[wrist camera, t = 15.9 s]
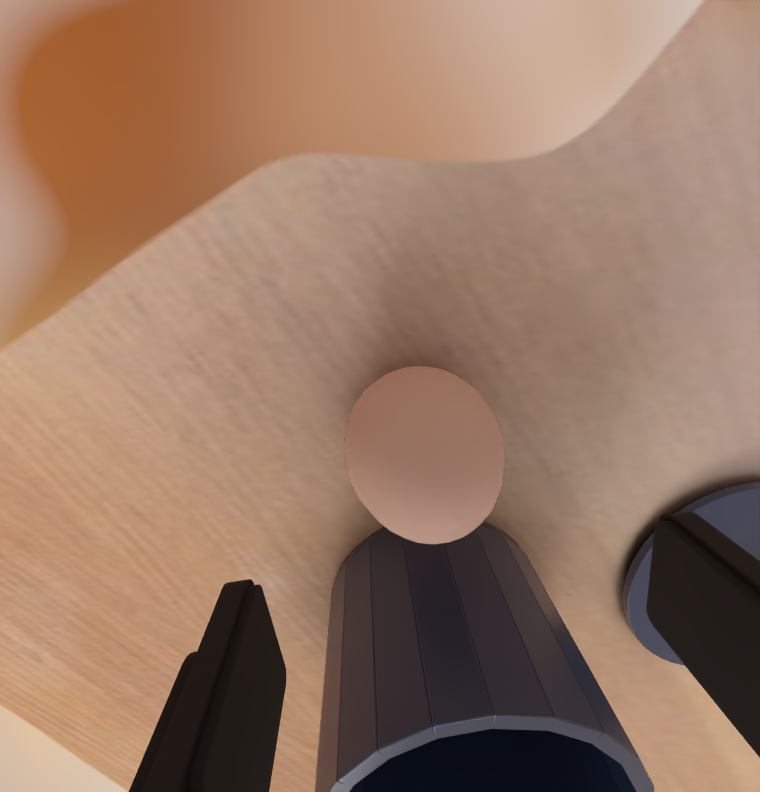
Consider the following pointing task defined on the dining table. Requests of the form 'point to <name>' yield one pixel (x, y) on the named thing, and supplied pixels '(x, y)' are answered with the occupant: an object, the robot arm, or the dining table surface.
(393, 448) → the egg
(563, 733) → the pot
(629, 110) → the dining table surface
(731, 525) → the lid
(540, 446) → the dining table surface
